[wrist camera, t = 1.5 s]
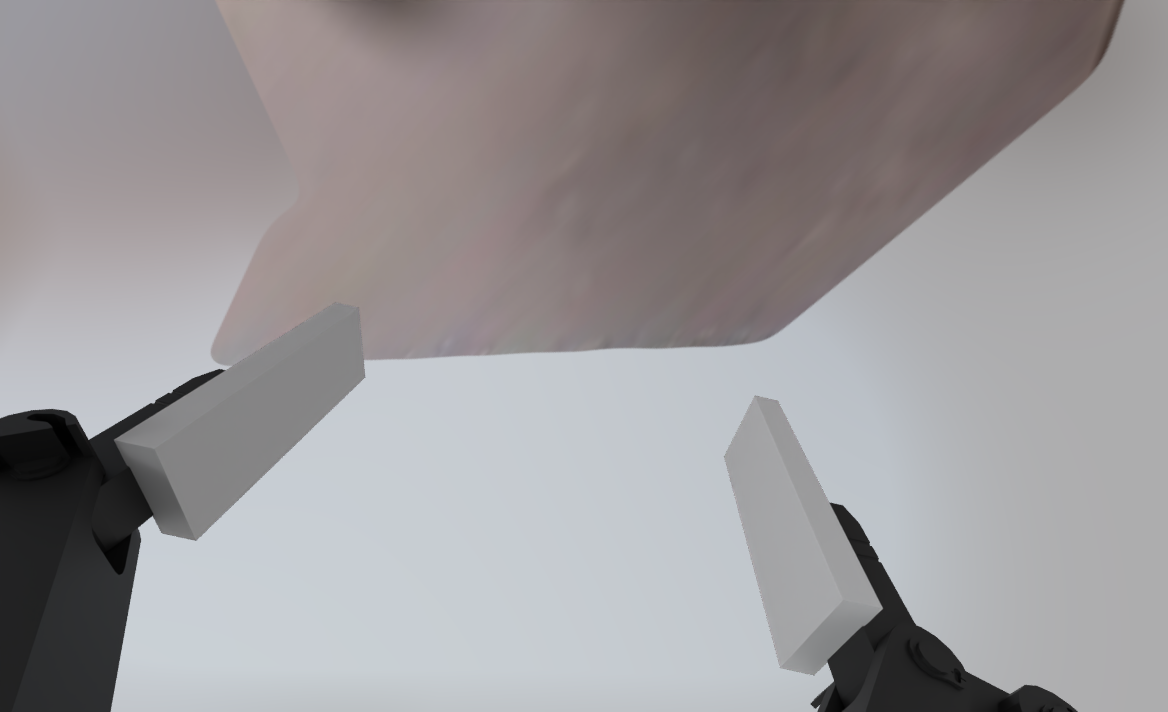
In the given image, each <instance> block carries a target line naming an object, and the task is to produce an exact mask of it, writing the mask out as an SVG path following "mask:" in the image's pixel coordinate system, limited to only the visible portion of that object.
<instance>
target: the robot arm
mask: <svg viewBox="0 0 1168 712" xmlns="http://www.w3.org/2000/svg"><path fill="white" fill-rule="evenodd" d="M364 378H365V369H364V358H363V348H362V337H361V326H360V315H359V307H354V306H350V305H345V304H341V303H336V302H335V303H334V304H332V305H331V306H329V307H327V308H326V309H324V310H322V311H321V312H319V313H318V314H316V315H314V316H313V317H311V318H310V319H308V320H306V321H305V322H303V323H301V324H300V325H298V326H297V327H295V328H293V329H292V330H290V331H289V332H287V333H285V334H284V335H282V336H281V337H279V338H277V339H276V340H274V341H272V342H271V343H269V344H268V345H266V346H264V347H263V348H261V349H260V350H258V351H256V352H255V353H253V354H251V355H250V356H248V357H247V358H245V359H243V360H242V361H240V362H239V363H237V364H235V365H234V366H232V367H231V368H229V369H227V370H222V369H218V370H215V371H212V372H209V373H206V374H204V375H201V376H198V377H195V378H193V379H191V380H189V381H188V382H186V383H185V384H183V385H181V386H179V387H178V388H176V389H174V390H173V392H172V393H167V394H166V395H164V396H162V397H161V398H159V399H157V400H156V402H155V403H154V404H152V403H150V404H149V405H147V406H146V407H144V408H142V409H140V410H139V411H137V412H135V413H134V414H132V415H130V416H129V417H127V418H125V419H124V420H122V421H120V422H118V423H117V424H115V425H113V426H112V427H110V428H109V429H107V430H105V431H103V432H101V433H100V434H98V435H96V436H95V437H93V438H91V439H90V440H88V438H87V436H86V434H85V432H84V431H83V429H82V427H81V425H80V424H79V422H78V420H77V418H76V416H74V415H73V414H71V413H69V412H68V411H63V410H55V409H45V410H31V411H27V412H22V413H18V414H13V415H9V416H6V417H3V418H0V712H110V711H111V706H112V700H113V694H114V689H115V683H116V678H117V672H118V666H119V661H120V655H121V650H122V644H123V638H124V633H125V626H126V621H127V616H128V610H129V605H130V599H131V594H132V588H133V582H134V576H135V571H136V565H137V560H138V554H139V548H140V543H141V538H140V532H139V530H138V527H139V526H141V525H142V524H143V523H144V522H145V521H146V520H148V519H149V518H150V517H152V516H153V517H154V519H155V521H156V523H157V525H158V527H159V529H160V531H161V533H163V534H167V535H172V536H177V537H181V538H186V539H191V540H195V541H196V540H197V539H198V538H199V537H200V536H202V535H203V534H204V533H205V532H206V531H207V530H208V529H209V528H210V527H211V526H212V525H213V524H214V523H215V522H216V521H217V520H218V519H219V518H220V517H221V516H222V515H223V514H224V513H225V512H226V511H227V510H228V509H229V508H230V507H231V506H232V505H234V504H235V503H236V502H237V501H238V500H239V499H240V498H241V497H242V496H243V495H244V494H245V493H246V492H247V491H248V490H249V489H250V488H251V487H252V486H253V485H254V484H255V483H256V482H257V481H258V480H259V479H260V478H262V476H264V475H265V474H266V473H267V472H268V471H269V470H270V469H271V468H272V467H273V466H274V465H275V464H276V463H277V462H278V461H279V460H280V459H281V458H282V457H283V456H284V455H285V454H286V453H287V452H288V451H289V450H290V449H292V447H294V446H295V445H296V444H297V443H298V442H299V441H300V440H301V439H302V438H303V437H304V436H305V435H306V434H307V433H308V432H309V431H310V430H311V429H312V428H313V427H314V426H315V425H316V424H317V423H318V422H319V421H320V420H321V419H322V418H324V417H325V416H326V414H328V413H329V412H330V411H331V410H332V409H333V408H334V407H335V406H336V405H337V404H338V403H339V402H340V401H341V400H342V399H343V398H344V397H345V396H346V395H347V394H348V393H349V392H350V391H352V390H353V388H354V387H356V386H357V385H358V384H359V383H360V382H361V381H362V380H363V379H364ZM724 458H725V462H726V465H727V469H728V473H729V477H730V481H731V484H732V488H733V492H734V496H735V499H736V503H737V507H738V511H739V514H740V518H741V522H742V526H743V529H744V533H745V537H746V541H747V545H748V549H749V552H750V556H751V560H752V564H753V567H754V571H755V575H756V579H757V582H758V586H759V590H760V593H761V598H762V601H763V605H764V609H765V613H766V616H767V620H768V624H769V627H770V631H771V635H772V639H773V643H774V647H775V650H776V654H777V658H778V662H779V665H780V668H783V669H787V670H792V671H796V672H801V673H805V674H810V675H815V674H816V673H817V672H818V671H819V670H820V669H821V668H822V667H823V666H824V665H825V664H826V663H827V662H828V664H829V667H830V670H831V673H832V675H833V678H834V682H833V683H832V684H831V685H830V686H828V687H827V688H826V689H825V690H824V691H823V692H822V693H821V694H820V695H819V696H817V697H816V698H815V699H814V701H813V702H812V703H811V705H812V706H813V707H814V708H817V707H818V706H819V705H820V704H821V705H820V707H819V709H818V712H1077V711H1076V710H1075V709H1074V708H1073V707H1072V706H1071V705H1069V704H1068V703H1066V702H1065V701H1063V700H1062V699H1061V698H1059V697H1058V696H1056V695H1055V694H1053V693H1052V692H1049V691H1047V690H1045V689H1043V688H1040V687H1038V686H1031V685H1024V686H1023V687H1021V688H1019V689H1018V690H1016V691H1014V692H1013V693H1011V694H1009V693H1006V692H1005V691H1003V690H1001V689H999V688H997V687H995V686H993V685H991V684H989V683H987V682H985V681H983V680H981V679H979V678H977V677H976V676H974V675H972V674H970V673H968V672H966V671H965V669H964V667H963V665H962V664H961V662H960V661H959V660H958V659H957V657H956V656H955V655H954V654H953V652H952V651H951V650H950V649H949V648H948V647H947V646H946V645H945V644H944V643H942V642H941V641H940V640H939V639H938V638H937V637H936V636H934V635H932V634H931V633H929V632H928V631H926V630H924V629H923V628H921V627H919V626H916V624H915V623H914V621H913V620H912V618H911V616H910V614H909V612H908V611H907V608H906V607H905V605H904V603H903V601H902V599H901V598H900V596H899V594H898V592H897V590H896V589H895V587H894V585H893V583H892V582H891V580H890V578H889V576H888V574H887V572H886V571H885V569H884V567H883V565H882V563H881V562H879V561H878V559H879V558H878V556H877V554H876V553H875V551H874V549H873V547H872V546H870V544H869V543H870V542H869V540H868V538H867V536H866V535H865V533H864V531H863V529H862V528H861V526H860V524H859V523H858V521H857V520H856V519H855V518H854V517H853V516H852V515H851V514H850V513H849V512H848V511H847V510H846V508H845V507H844V506H843V505H838V504H834V503H829V501H828V499H827V497H826V495H825V493H824V491H823V489H822V488H821V485H820V483H819V481H818V479H817V477H816V476H815V474H814V471H813V470H812V467H811V466H810V464H809V462H808V460H807V458H806V456H805V454H804V452H803V450H802V448H801V446H800V444H799V442H798V440H797V438H796V436H795V434H794V432H793V430H792V428H791V426H790V424H789V422H788V420H787V418H786V416H785V414H784V412H783V410H782V408H781V406H780V404H779V402H778V401H777V400H772V399H768V398H763V397H759V396H754V398H753V400H752V402H751V404H750V406H749V408H748V410H747V412H746V414H745V416H744V418H743V420H742V422H741V424H740V426H739V428H738V430H737V432H736V434H735V436H734V438H733V440H732V442H731V444H730V446H729V448H728V450H727V452H726V454H725V456H724Z"/></svg>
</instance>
